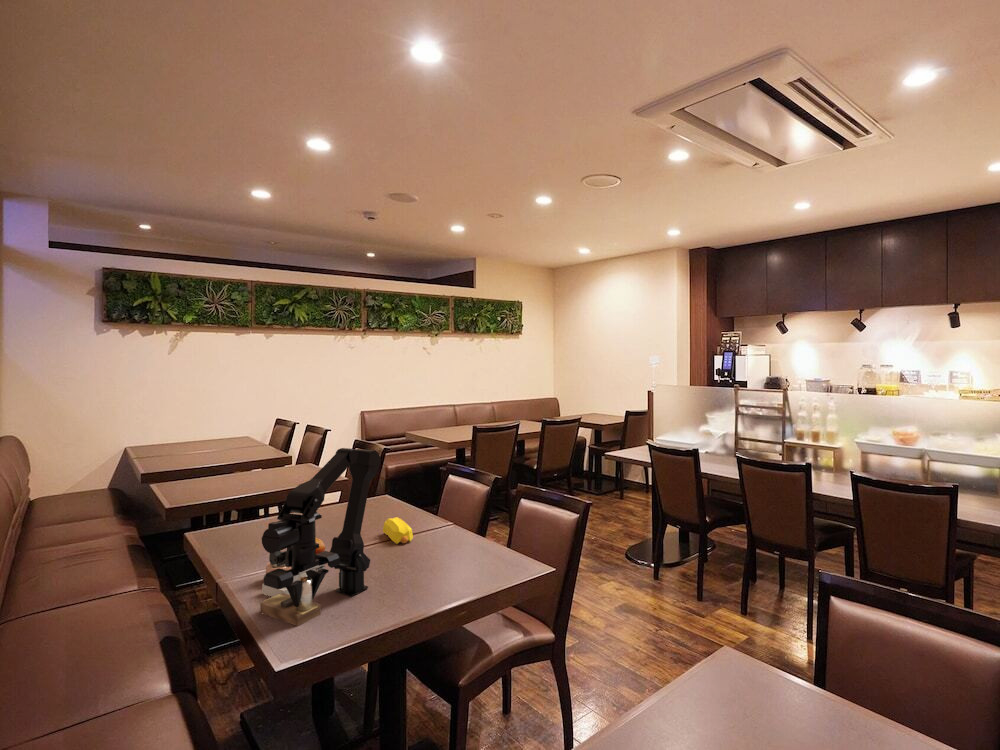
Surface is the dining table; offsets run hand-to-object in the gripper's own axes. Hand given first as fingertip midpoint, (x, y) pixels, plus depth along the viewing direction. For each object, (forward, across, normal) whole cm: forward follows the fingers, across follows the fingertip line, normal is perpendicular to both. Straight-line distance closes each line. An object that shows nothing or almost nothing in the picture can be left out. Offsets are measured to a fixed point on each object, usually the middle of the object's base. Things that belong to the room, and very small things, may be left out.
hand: (303, 603), depth 132 cm
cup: (+4, -13, -26) cm, 29 cm away
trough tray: (+4, -10, -17) cm, 20 cm away
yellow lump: (+4, -60, -22) cm, 64 cm away
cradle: (+4, 0, -5) cm, 6 cm away
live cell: (+1, 0, 0) cm, 1 cm away
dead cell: (+3, -13, -26) cm, 29 cm away
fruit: (+4, -30, -32) cm, 44 cm away
